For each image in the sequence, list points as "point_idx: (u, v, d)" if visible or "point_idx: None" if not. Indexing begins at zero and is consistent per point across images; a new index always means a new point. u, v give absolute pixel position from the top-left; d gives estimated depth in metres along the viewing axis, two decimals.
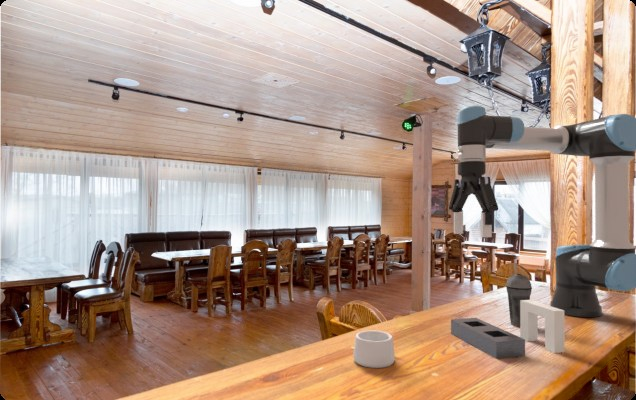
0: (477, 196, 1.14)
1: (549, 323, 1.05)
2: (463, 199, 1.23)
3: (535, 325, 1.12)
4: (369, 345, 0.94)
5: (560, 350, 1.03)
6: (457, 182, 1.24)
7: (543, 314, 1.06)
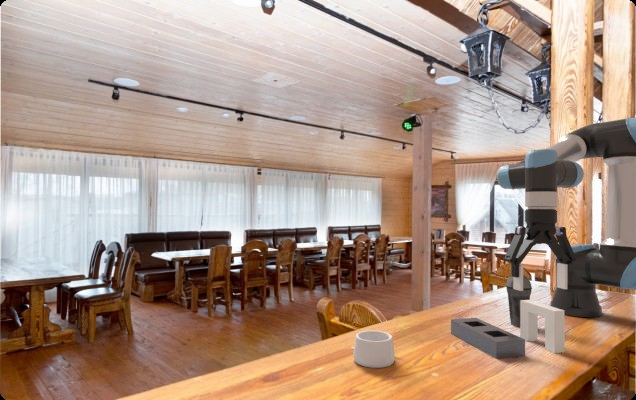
0: None
1: (549, 323, 1.05)
2: (555, 249, 1.10)
3: (535, 325, 1.12)
4: (369, 345, 0.94)
5: (560, 350, 1.03)
6: None
7: (543, 314, 1.06)
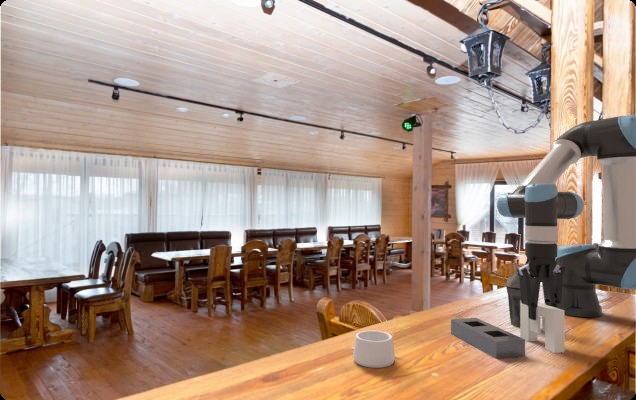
0: None
1: (549, 323, 1.05)
2: (546, 287, 1.09)
3: None
4: (369, 345, 0.94)
5: (560, 350, 1.03)
6: None
7: (543, 314, 1.06)
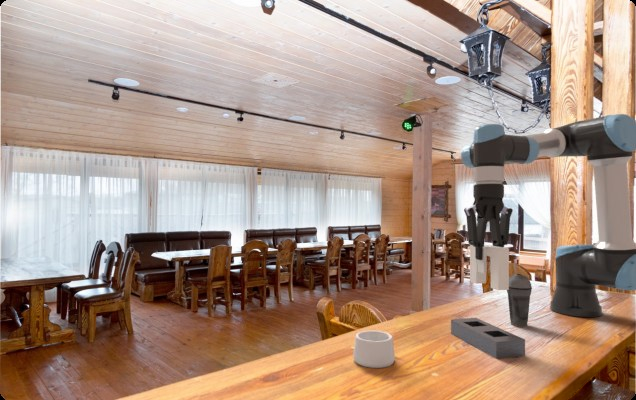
0: None
1: (494, 261, 1.05)
2: (493, 228, 1.10)
3: None
4: (369, 345, 0.94)
5: (504, 287, 1.04)
6: None
7: (489, 253, 1.07)
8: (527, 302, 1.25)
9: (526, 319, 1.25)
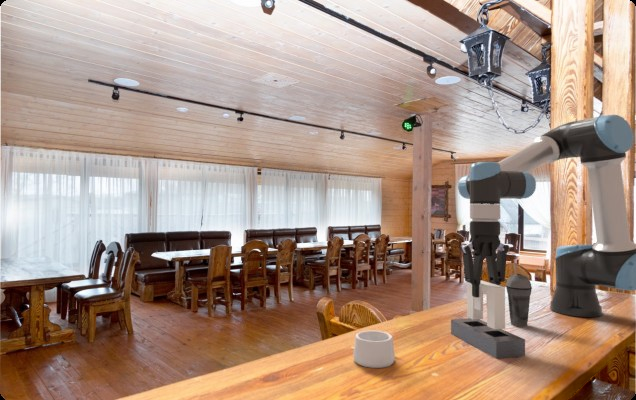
0: None
1: (490, 300, 1.05)
2: (490, 265, 1.10)
3: None
4: (369, 345, 0.94)
5: (500, 326, 1.04)
6: None
7: (485, 291, 1.07)
8: (527, 302, 1.25)
9: (526, 319, 1.25)
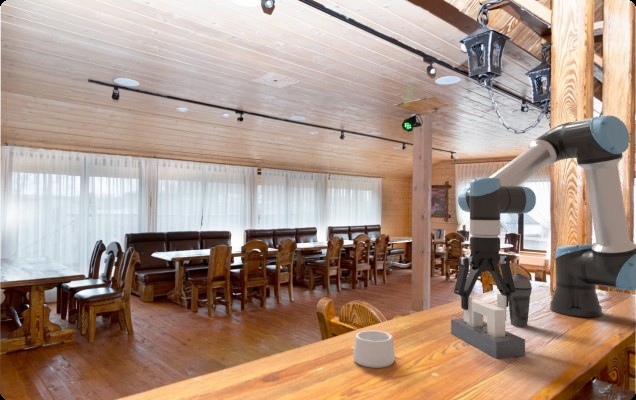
0: None
1: (490, 322, 1.05)
2: (496, 279, 1.10)
3: (480, 324, 1.13)
4: (369, 345, 0.94)
5: None
6: None
7: (486, 313, 1.07)
8: (527, 302, 1.25)
9: (526, 319, 1.25)
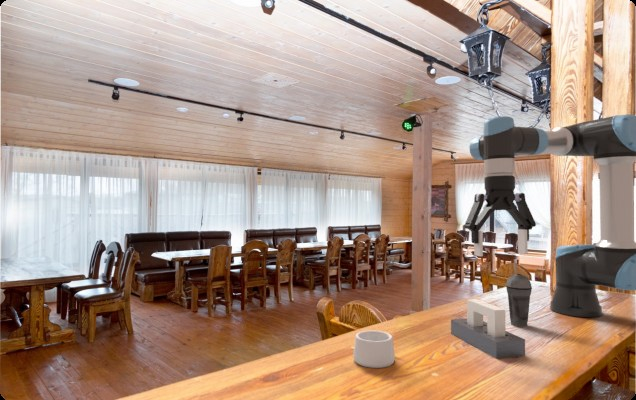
0: None
1: (490, 322, 1.05)
2: (514, 215, 1.12)
3: (480, 324, 1.13)
4: (369, 345, 0.94)
5: None
6: None
7: (486, 313, 1.07)
8: (527, 302, 1.25)
9: (526, 319, 1.25)
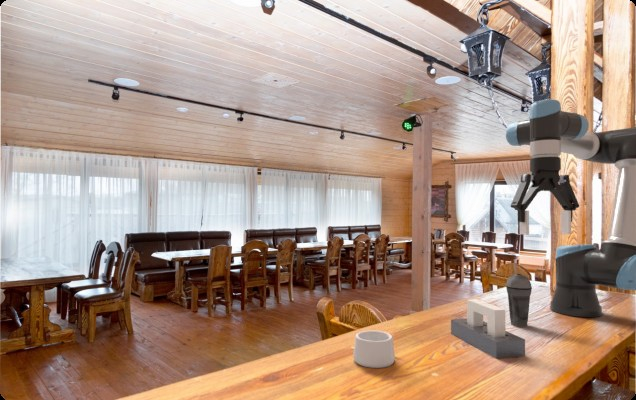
0: None
1: (490, 322, 1.05)
2: (559, 197, 1.15)
3: (480, 324, 1.13)
4: (369, 345, 0.94)
5: None
6: None
7: (486, 313, 1.07)
8: (527, 302, 1.25)
9: (526, 319, 1.25)
